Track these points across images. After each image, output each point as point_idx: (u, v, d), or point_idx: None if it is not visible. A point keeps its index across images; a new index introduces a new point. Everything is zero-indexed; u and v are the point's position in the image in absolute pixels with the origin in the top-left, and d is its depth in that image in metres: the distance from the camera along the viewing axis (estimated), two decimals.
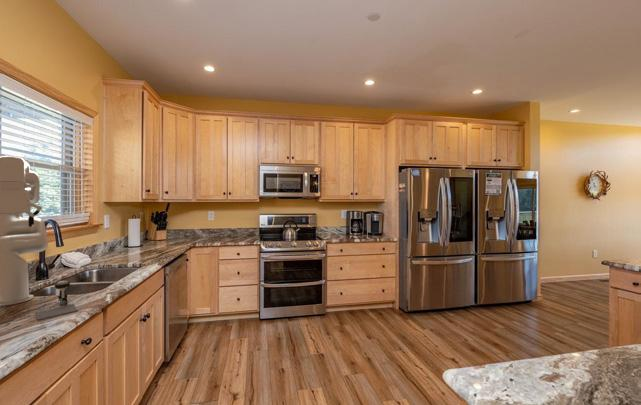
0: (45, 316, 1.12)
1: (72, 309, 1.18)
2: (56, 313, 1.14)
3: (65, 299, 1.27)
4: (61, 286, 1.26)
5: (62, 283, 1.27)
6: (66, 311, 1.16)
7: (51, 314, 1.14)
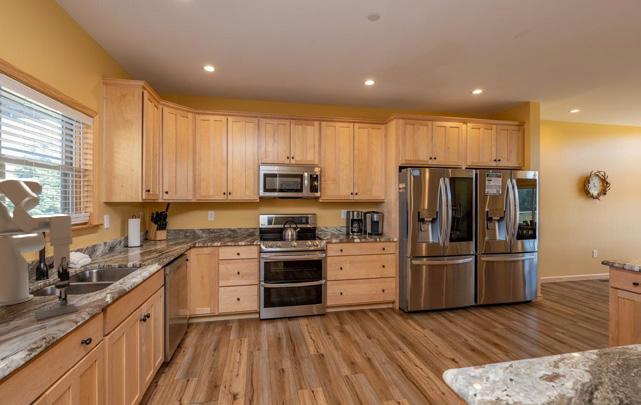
0: (45, 316, 1.12)
1: (72, 309, 1.18)
2: (56, 313, 1.14)
3: (65, 299, 1.27)
4: (61, 286, 1.26)
5: (62, 283, 1.27)
6: (66, 311, 1.16)
7: (51, 314, 1.14)
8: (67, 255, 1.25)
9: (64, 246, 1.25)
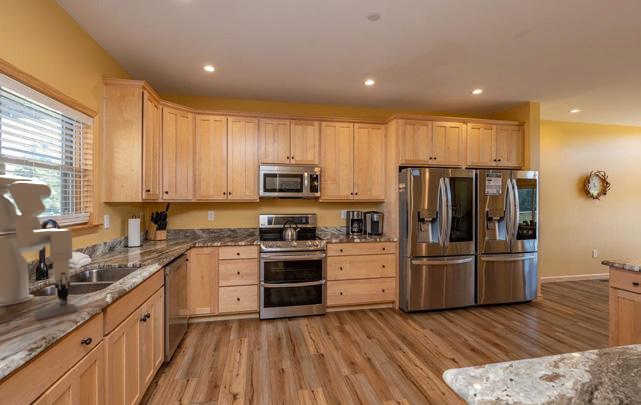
0: (45, 316, 1.12)
1: (72, 309, 1.18)
2: (56, 313, 1.14)
3: (65, 299, 1.27)
4: None
5: None
6: (66, 311, 1.16)
7: (51, 314, 1.14)
8: (67, 270, 1.25)
9: (64, 261, 1.25)
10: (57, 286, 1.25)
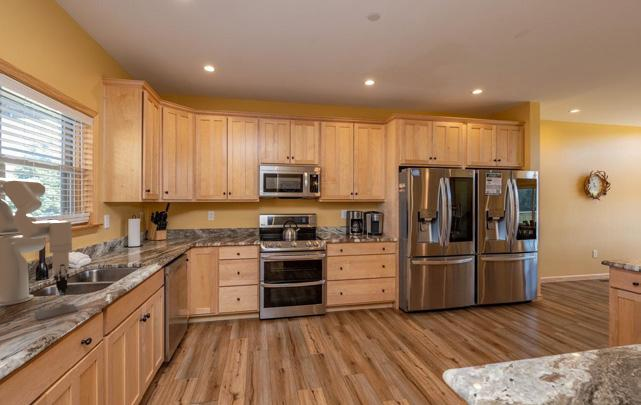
0: (45, 316, 1.12)
1: (72, 309, 1.18)
2: (56, 313, 1.14)
3: (64, 291, 1.27)
4: None
5: None
6: (66, 311, 1.16)
7: (51, 314, 1.14)
8: (66, 262, 1.25)
9: (64, 253, 1.25)
10: (56, 278, 1.25)
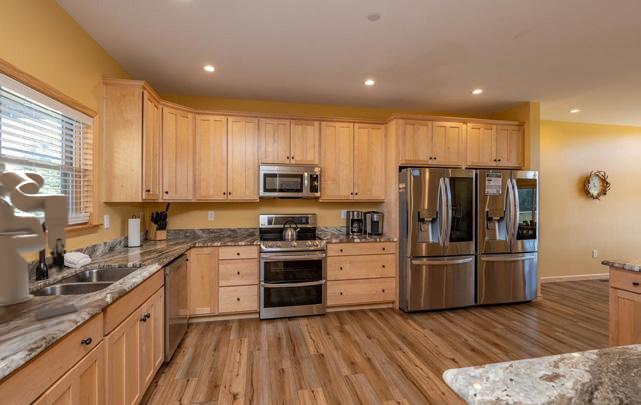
0: (45, 316, 1.12)
1: (72, 309, 1.18)
2: (56, 313, 1.14)
3: (61, 267, 1.21)
4: None
5: None
6: (66, 311, 1.16)
7: (51, 314, 1.14)
8: (63, 237, 1.19)
9: (60, 227, 1.19)
10: (53, 253, 1.19)
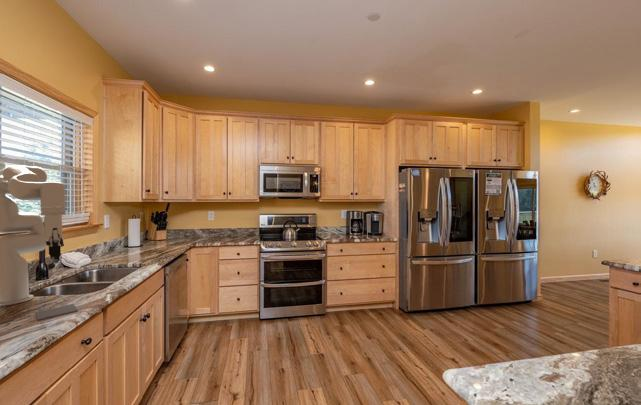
0: (45, 316, 1.12)
1: (72, 309, 1.18)
2: (56, 313, 1.14)
3: (57, 257, 1.17)
4: None
5: None
6: (66, 311, 1.16)
7: (51, 314, 1.14)
8: (59, 226, 1.15)
9: (56, 216, 1.15)
10: (49, 243, 1.15)
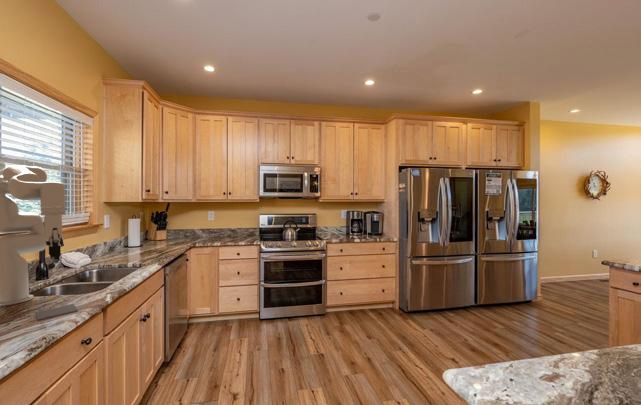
0: (45, 316, 1.12)
1: (72, 309, 1.18)
2: (56, 313, 1.14)
3: (57, 257, 1.17)
4: None
5: None
6: (66, 311, 1.16)
7: (51, 314, 1.14)
8: (59, 226, 1.15)
9: (56, 216, 1.15)
10: (49, 243, 1.15)
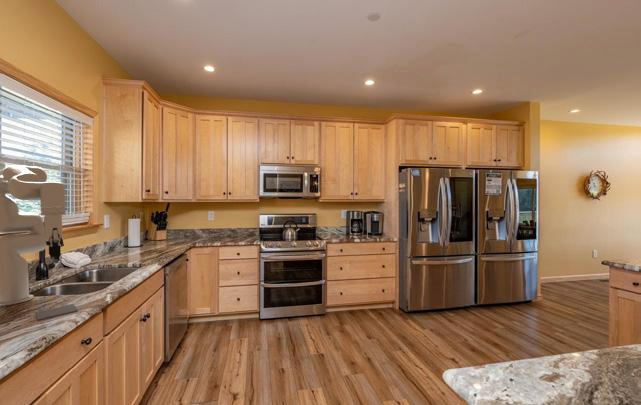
0: (45, 316, 1.12)
1: (72, 309, 1.18)
2: (56, 313, 1.14)
3: (57, 257, 1.17)
4: None
5: None
6: (66, 311, 1.16)
7: (51, 314, 1.14)
8: (59, 226, 1.15)
9: (56, 216, 1.15)
10: (49, 243, 1.15)
